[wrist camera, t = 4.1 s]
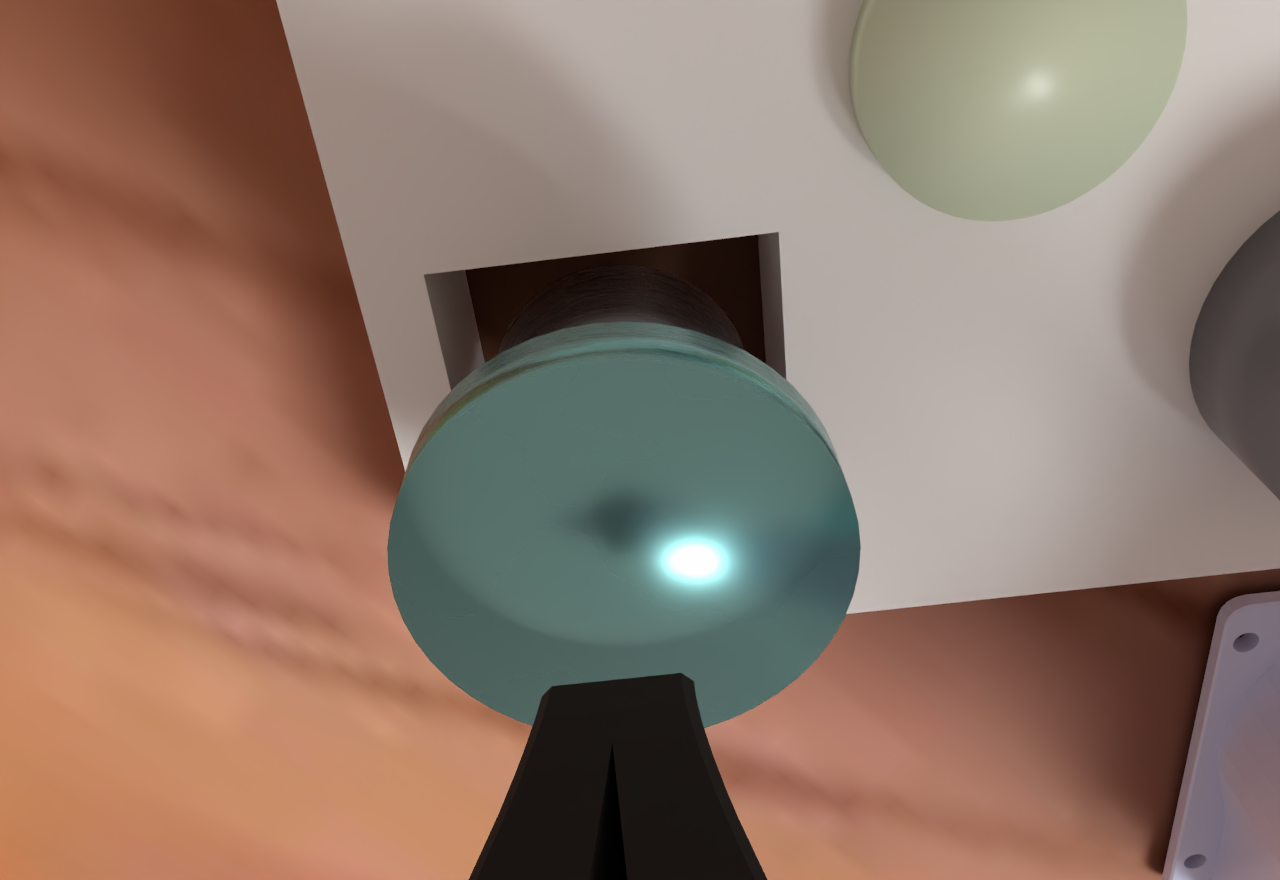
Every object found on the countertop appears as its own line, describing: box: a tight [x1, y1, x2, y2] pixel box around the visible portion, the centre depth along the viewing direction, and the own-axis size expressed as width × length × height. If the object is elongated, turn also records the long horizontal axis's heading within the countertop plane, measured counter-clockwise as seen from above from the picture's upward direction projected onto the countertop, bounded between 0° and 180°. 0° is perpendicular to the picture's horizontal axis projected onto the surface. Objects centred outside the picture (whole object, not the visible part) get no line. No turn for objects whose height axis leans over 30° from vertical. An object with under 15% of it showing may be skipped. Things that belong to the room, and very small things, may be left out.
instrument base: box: [276, 0, 1280, 614], centre depth 14 cm, size 18×18×5 cm
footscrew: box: [387, 265, 861, 728], centre depth 15 cm, size 6×6×5 cm
